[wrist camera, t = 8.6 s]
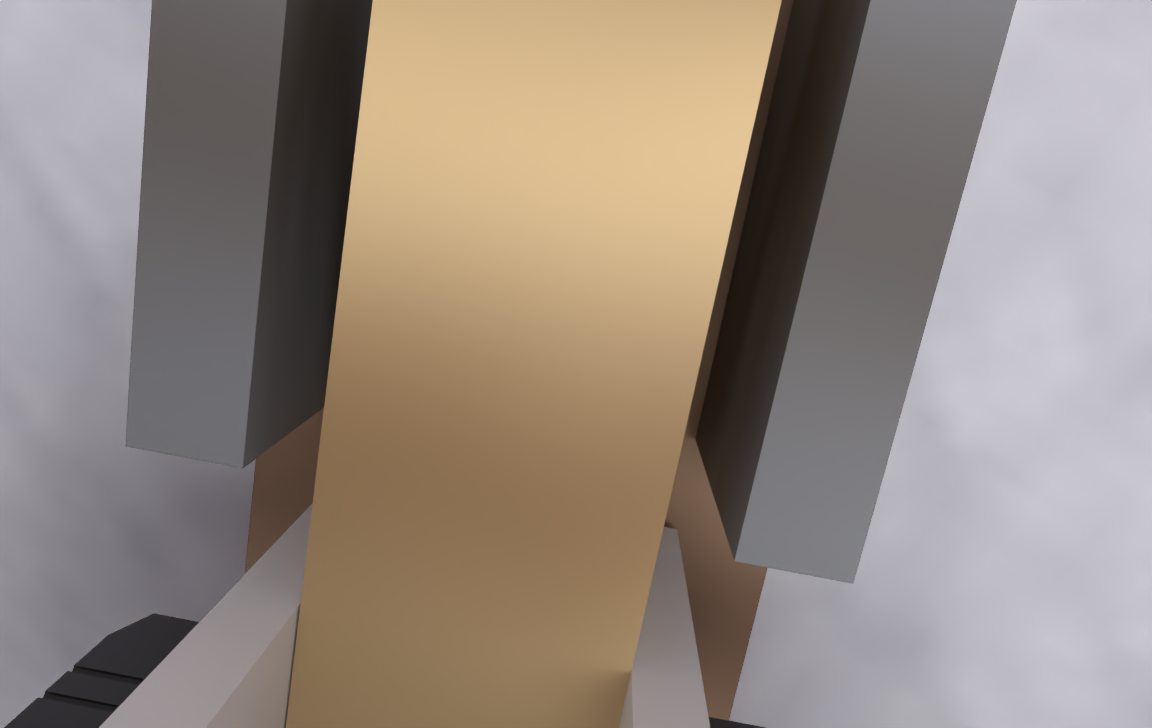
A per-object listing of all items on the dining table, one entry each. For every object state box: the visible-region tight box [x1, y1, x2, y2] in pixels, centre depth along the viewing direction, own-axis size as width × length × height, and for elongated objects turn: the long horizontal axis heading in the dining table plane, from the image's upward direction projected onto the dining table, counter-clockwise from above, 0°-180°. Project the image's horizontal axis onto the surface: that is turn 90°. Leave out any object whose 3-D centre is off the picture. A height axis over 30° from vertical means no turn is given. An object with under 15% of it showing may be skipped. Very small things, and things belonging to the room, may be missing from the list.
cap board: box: [126, 0, 1017, 721], centre depth 9 cm, size 24×8×8 cm, turn 170°
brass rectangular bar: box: [286, 0, 782, 728], centre depth 10 cm, size 14×4×4 cm, turn 170°
